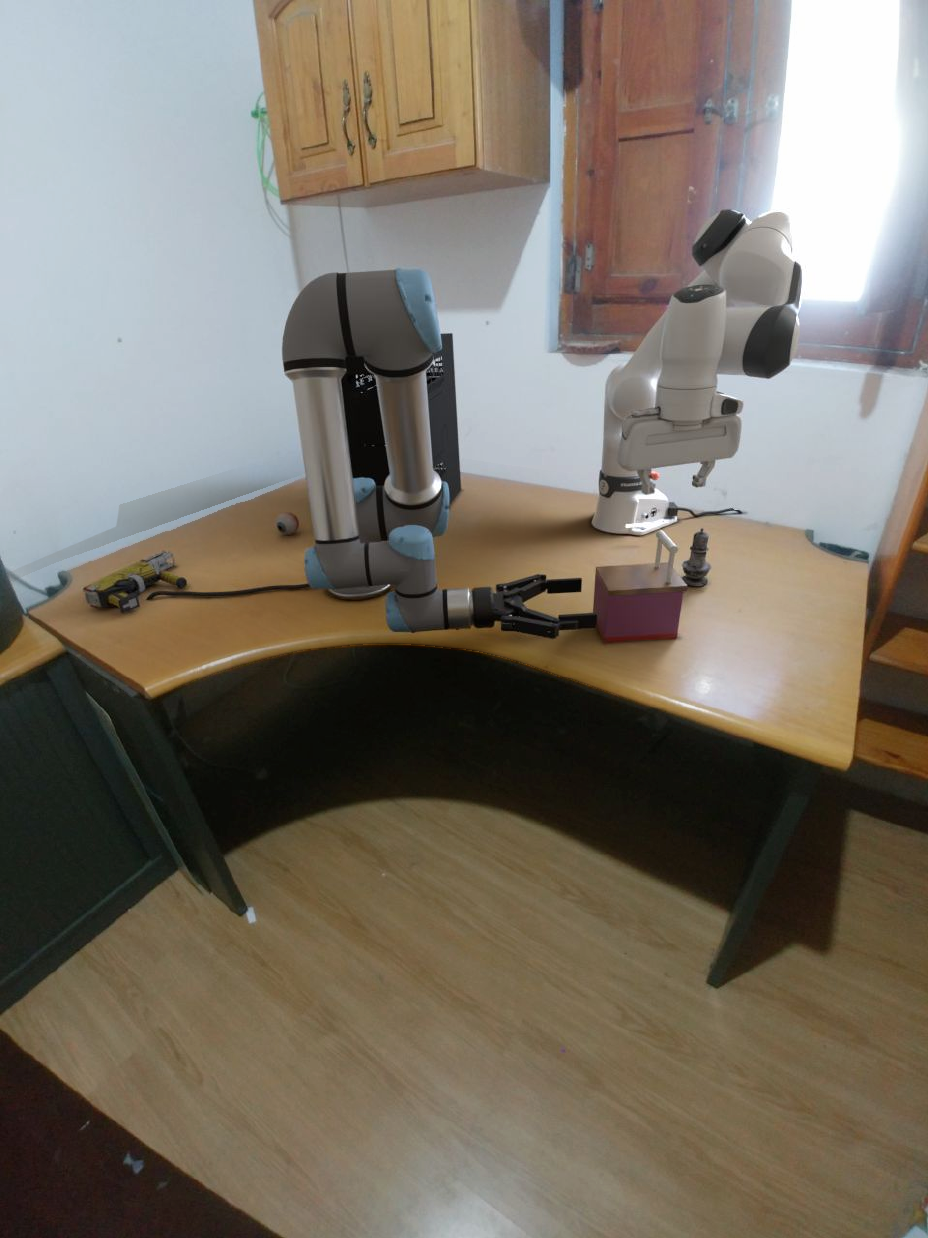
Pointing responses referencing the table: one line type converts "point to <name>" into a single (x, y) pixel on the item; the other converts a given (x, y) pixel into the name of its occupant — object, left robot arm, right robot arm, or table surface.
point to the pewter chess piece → (697, 561)
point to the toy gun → (131, 583)
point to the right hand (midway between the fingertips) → (673, 489)
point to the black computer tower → (369, 427)
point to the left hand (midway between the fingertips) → (588, 601)
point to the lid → (644, 574)
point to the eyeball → (287, 523)
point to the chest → (636, 615)
